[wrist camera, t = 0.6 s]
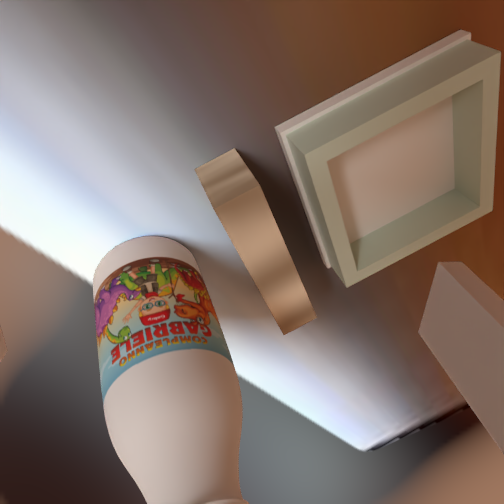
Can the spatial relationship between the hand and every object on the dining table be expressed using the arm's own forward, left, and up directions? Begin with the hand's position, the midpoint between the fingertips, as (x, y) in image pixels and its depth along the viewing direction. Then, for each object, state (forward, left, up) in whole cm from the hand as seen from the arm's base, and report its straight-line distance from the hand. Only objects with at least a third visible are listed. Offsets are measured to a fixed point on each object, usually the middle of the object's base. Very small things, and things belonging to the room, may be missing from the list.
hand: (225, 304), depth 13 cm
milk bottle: (+11, -6, -17) cm, 21 cm away
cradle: (+12, +14, -17) cm, 25 cm away
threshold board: (+12, +2, -17) cm, 21 cm away
